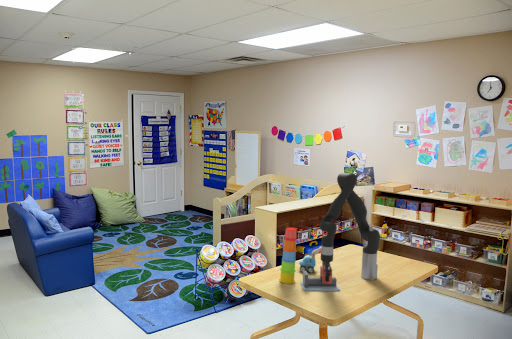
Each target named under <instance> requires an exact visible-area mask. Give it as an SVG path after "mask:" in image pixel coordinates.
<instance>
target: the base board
mask: <svg viewBox="0 0 512 339" xmlns="http://www.w3.org/2000/svg"><path fill="white" fill-rule="evenodd" d="M299 283H300V286H301V289H302V291H304V292H310V291H311V292H315V291H316V292H323V291H324V292H326V291H327V292H328V291H329V292H334V291H335V292H340V291H341V290H340V286H338V285H337V283H336V286H308V288H306V287H304V285H303V281H300V282H299Z"/></svg>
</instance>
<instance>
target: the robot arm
mask: <svg viewBox="0 0 512 339" xmlns="http://www.w3.org/2000/svg"><path fill="white" fill-rule="evenodd" d="M357 182H358V178H357V176H356V174H354V173H351V172H350V173H347V172H341V173H339V174H338V175H337V180H336V183H337V185H338V186H339V189H340V190H341V192H340V193H339V194H338V195H337V196H336V197H335V198H334V200H332V202H331V204H330V206H329V208H328V212H327V213H326V214H325V215H324V216H323V217H322V219H321V221H320V223H319V229H320V230H321V231H322V232H325V233H326V235H323V236H322V238H321V246H320V247H321V251H320V261H321V266H323V267H324V269H325V272H326V273H325V275H326V277H325V281H326V282H329V276H331V268H332V266H331V262H333V261H334V239H335V237H336V233H337V229H338V227H337V224H336V223H335V222H334V221H333V220H337V219H339V216H340V214H341V212H342V210H343V207H344V205H345V203H346V202H347V204H348V206H349V209H350V211H351V213H352V215H353V217H354V220H355V223H356V225H357V228H358V231H359V234H360V237H361V238H362V239H363V241H365V242H367V244H366V245H365V246H363V247H362V256H361V274H360V275H361V278H362V279H363V280H369V281H373V280H378V263H377V262H378V250H379V247H380V239H381V238H380V232H379V230H378V229H377V228H376V229H375V228H373V227H371V226H370V224H369V223H368V221H367V220H368V219H367V216H368V211H367V207H366V205H365V202H364V201H363V200H362V198H361V197H360V196H359V195H358V194H357V193H356V192H355V190H354V189H355V187H356V185H357ZM326 269H327V270H326ZM328 272H329V274H328Z"/></svg>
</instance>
